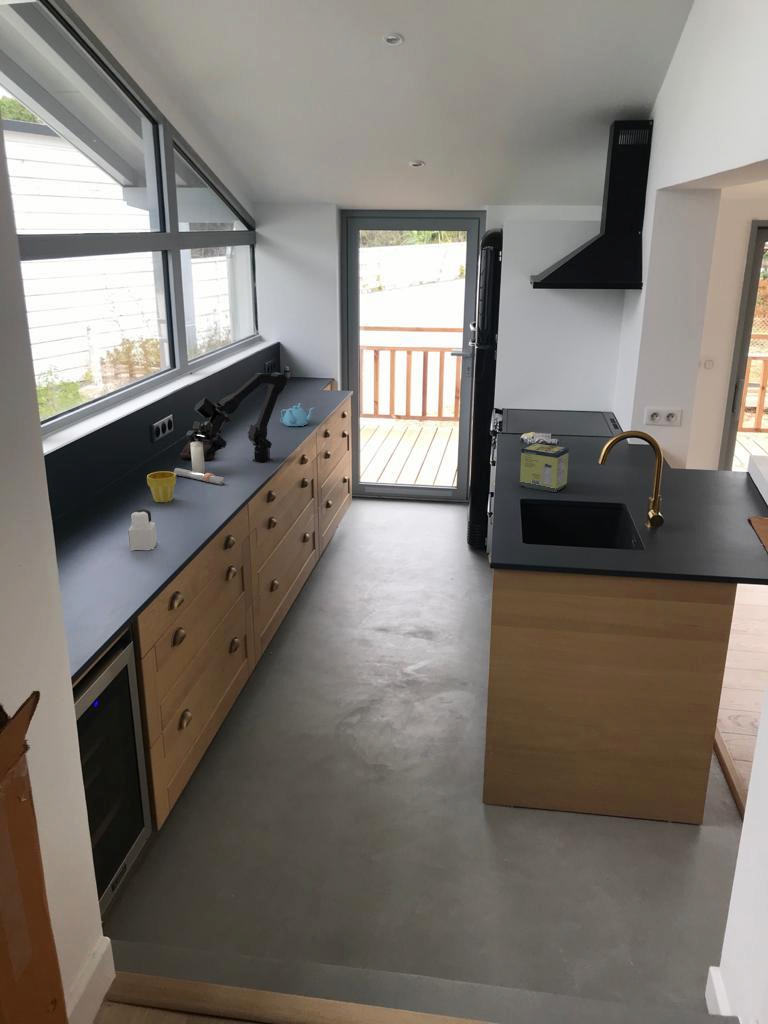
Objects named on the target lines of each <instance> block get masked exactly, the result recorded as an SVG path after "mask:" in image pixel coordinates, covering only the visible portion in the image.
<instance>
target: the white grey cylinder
mask: <svg viewBox="0 0 768 1024" xmlns="http://www.w3.org/2000/svg"><path fill="white" fill-rule="evenodd" d="M190 446H191V458H192V459H191V466H192V468H191V469H192V470H191V471H195V472H200V473H206V469H205V468H206V467H205V460H204V452H203V442H191V443H190Z"/></svg>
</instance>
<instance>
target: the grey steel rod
mask: <svg viewBox="0 0 768 1024" xmlns="http://www.w3.org/2000/svg"><path fill="white" fill-rule="evenodd" d="M173 473H175V474H176V476H180V477H183V478H187V479H188V478H189V479H193V480H197V481H201V480H202V481H203V482H207V483H211V484H215V485H216V484H217V485H221V486H223V485H224V484H225V482H226V479H225V478H224V477H223V476H218V475H216V474H214V473H211V472H205V474H204V473H200V472H195V471H193V470H189V469H184V468H179V467H175V468H174V470H173ZM222 484H223V485H222Z"/></svg>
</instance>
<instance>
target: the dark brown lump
mask: <svg viewBox="0 0 768 1024" xmlns="http://www.w3.org/2000/svg"><path fill="white" fill-rule="evenodd" d="M197 433H198V434H199V435H201V433H199V432H197ZM201 442H203V452H204V454H205V452H206V450H207V448H208V446H209V441H204V440H202V441H201ZM189 444H190V441H189V440H188V441H187V443H186V445H185V446H183V447H184V448H183V449H182V451H181V452H180V453H179V455H180V457H183V458H184V459H188V458H189V459H190V460H192V458H191V455H189V454H188V450H189ZM215 457H216V452H214V453H213V454H211V455H210V456H208V457H207V458H204V461H211V460H213V459H215Z"/></svg>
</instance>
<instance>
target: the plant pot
mask: <svg viewBox="0 0 768 1024" xmlns="http://www.w3.org/2000/svg"><path fill="white" fill-rule="evenodd" d="M146 482H147V486H149V488H150V492H151V494H152V495H151V496H152V497H153V501H154V502H155V503H158V502H165V503H169V502H172V501H173V498H174V493H175V492H174V491H175V485H176V484H177V475H176V474H175V473H174V471H167V470H165V471H162V470H160V471H154V472H151V473H149V474H147V475H146ZM168 501H169V502H168Z"/></svg>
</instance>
